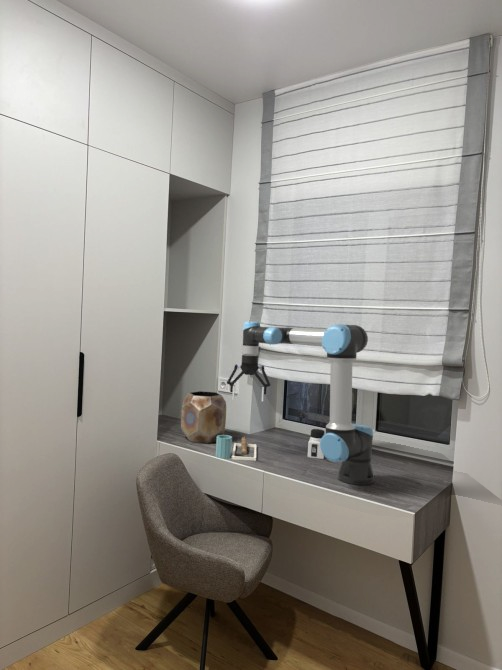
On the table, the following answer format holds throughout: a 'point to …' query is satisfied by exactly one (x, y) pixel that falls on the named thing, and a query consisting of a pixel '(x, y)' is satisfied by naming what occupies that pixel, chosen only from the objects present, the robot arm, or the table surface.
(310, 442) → the container
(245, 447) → the brown wooden bar
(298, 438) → the table surface
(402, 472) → the table surface
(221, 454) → the cup
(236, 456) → the white rectangular frame
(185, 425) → the planter
